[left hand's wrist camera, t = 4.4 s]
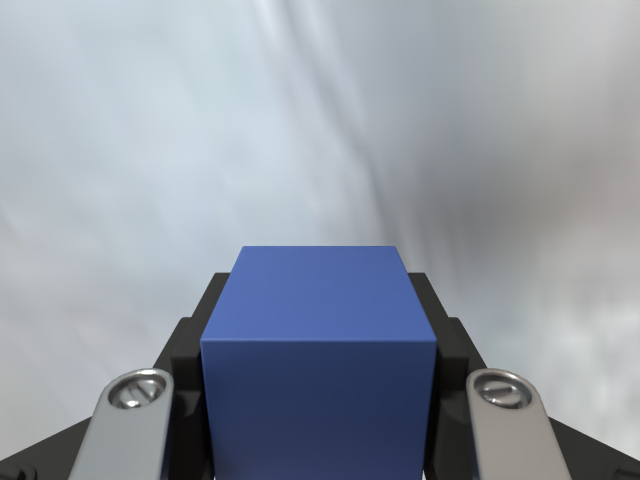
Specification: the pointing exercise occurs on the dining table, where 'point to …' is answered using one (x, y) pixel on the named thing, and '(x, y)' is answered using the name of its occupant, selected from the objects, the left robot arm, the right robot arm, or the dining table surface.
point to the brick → (318, 366)
